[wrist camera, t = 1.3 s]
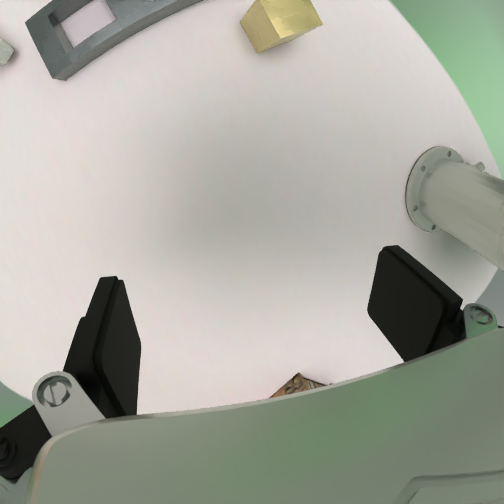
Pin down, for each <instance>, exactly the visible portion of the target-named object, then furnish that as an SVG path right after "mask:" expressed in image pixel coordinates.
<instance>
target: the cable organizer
mask: <svg viewBox="0 0 504 504" xmlns="http://www.w3.org/2000/svg"><path fill="white" fill-rule="evenodd" d="M13 52H14V50H13V48H12V47H11V46H10V45H9V44H7V43H6V42H4V41H3V40H2V39H0V64H1V65H5V64H6V63H7V61H8V60H9V58H10V56H11V55H12V53H13Z"/></svg>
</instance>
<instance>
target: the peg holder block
mask: <svg viewBox="0 0 504 504" xmlns="http://www.w3.org/2000/svg"><path fill="white" fill-rule="evenodd" d="M91 1H92V0H53V1H51V2H50V3H48V4H47V5H46V6H45V7H43V8H42V9H41V10H39V11H38V12H37V13H36V14H34V15H33V16H32V17H31V18H30V19H28V20H27V21H26V22H25V24H26V26H27V28H28V30H29V32H30V35H31V37H32V39H33V41H34V43H35V45H36V47H37V49H38V51H39V53H40V55H41V57H42V59H43V61H44V63H45V65H46V67H47V69H48V71H49V73H50V75H51V77H52V78H53V79H59V80H65V81H66V80H67V79H68V78H69V77H71V76H72V75H73V74H75V73H76V72H77V71H79V70H80V69H81V68H83V67H84V66H86V65H87V64H88V63H90V62H91V61H93V60H94V59H96V58H97V57H99V56H100V55H102V54H103V53H105V52H106V51H108V50H109V49H111V48H112V47H114V46H115V45H117V44H119V43H120V42H122V41H124V40H125V39H127V38H129V37H130V36H132V35H134V34H136V33H137V32H139V31H141V30H143V29H144V28H146V27H148V26H150V25H152V24H154V23H156V22H158V21H159V20H161V19H163V18H165V17H167V16H169V15H172V14H174V13H176V12H178V11H180V10H182V9H184V8H187V7H189V6H191V5H193V4H196V3H198V2H200V1H203V0H106V2H107V3H108V5H109V7H110V9H111V10H112V12H113V14H114V16H115V17H116V19H117V20H115V21H113V22H112V23H110V24H108V25H107V26H105V27H104V28H102V29H101V30H99V31H97V32H96V33H94V34H93V35H91V36H90V37H88V38H87V39H86V40H84V41H83V42H81V43H80V44H78V45H77V46H76V47H74V48H73V47H72V45H71V43H70V41H69V40H68V38H67V36H66V34H65V32H64V30H63V28H62V26H61V24H60V22H62V21H63V20H64V19H66V18H67V17H69V16H70V15H71V14H73V13H74V12H76V11H77V10H79V9H80V8H82V7H83V6H85V5H86V4H88V3H89V2H91Z"/></svg>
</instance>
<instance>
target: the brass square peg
mask: <svg viewBox="0 0 504 504" xmlns="http://www.w3.org/2000/svg"><path fill="white" fill-rule="evenodd" d="M240 23H241V25H242V27H243V29H244V30H245V32H246V34H247V36H248V37H249V39H250V41H251V43H252V45H253V47H254V48H255V50H256V52H257V54H258V53H260V52H263V51H265V50H268V49H270V48H273V47H275V46H278V45H281V44H283V43H286V42H289V41H292V40H293V39H295V38H297V37H299V36H301V35H303V34H305V33H307V32H309V31H311V30H313V29H315V28H317V27H319V26H321V25H323V23H322V22H321V20H320V18H319V16H318V14H317V12H316V10H315V8H314V6H313V5H312V3H311V1H310V0H256V1H255V2H254V3H253V5H252V6H251V7H250V9H249V10H248V11H247V13H246V14H245V15H244V17H243V18H242V20H241V21H240Z"/></svg>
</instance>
